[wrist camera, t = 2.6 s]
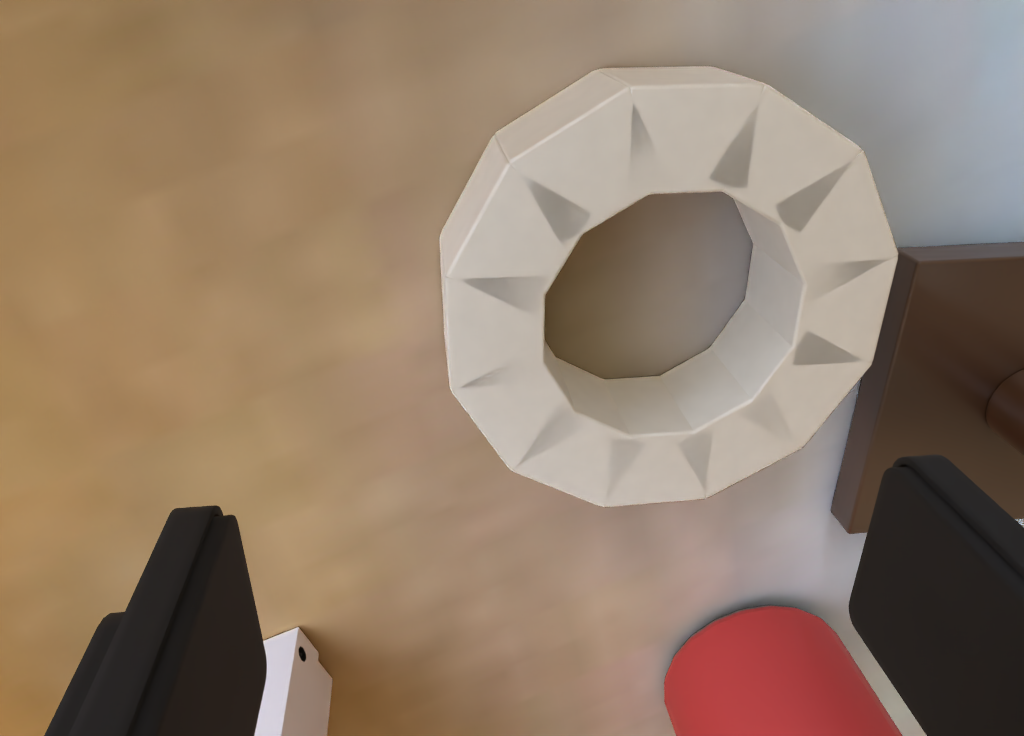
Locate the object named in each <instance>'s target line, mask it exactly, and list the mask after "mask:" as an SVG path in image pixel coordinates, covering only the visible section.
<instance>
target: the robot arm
mask: <svg viewBox="0 0 1024 736" xmlns="http://www.w3.org/2000/svg"><path fill="white" fill-rule="evenodd" d="M849 613H850V618H851V621H852V624H853V626H854V628H855V629H856V631H857V632H858V634H859V635H860V637H861V638H862V640H863V641H864V643H865V644H866V646H867V647H868V649H869V650H870V652H871V653H872V655H873V656H874V658H875V659H876V661H877V662H878V664H879V665H880V667H881V668H882V669H883V671H884V672H885V674H886V675H887V677H888V678H889V680H890V681H891V683H892V684H893V686H894V687H895V689H896V690H897V692H898V693H899V695H900V696H901V698H902V699H903V701H904V702H905V704H906V705H907V707H908V708H909V710H910V711H911V713H912V714H913V716H914V717H915V719H916V720H917V722H918V723H919V724H920V726H921V727H922V729H923V730H924V732H925V733H926V735H927V736H1024V528H1023V527H1022V526H1021V525H1020V524H1019V523H1018V522H1017V521H1016V520H1015V519H1014V518H1012V517H1011V516H1010V515H1009V514H1008V513H1007V512H1006V511H1005V510H1004V509H1003V508H1001V507H1000V506H999V505H998V504H997V503H996V502H995V501H994V500H993V499H991V498H990V497H989V496H988V495H987V494H986V493H985V492H984V491H983V490H982V489H980V488H979V487H978V486H977V485H976V484H975V483H974V482H973V481H972V480H971V479H969V478H968V477H967V476H966V475H965V474H964V473H963V472H962V471H961V470H960V469H958V468H957V467H956V466H955V465H954V464H953V463H952V462H951V461H950V460H949V459H947V458H946V457H944V456H942V455H937V454H936V455H922V456H908V457H901V458H898V459H897V460H896V461H895V462H894V464H893V466H892V467H891V468H888V469H887V470H886V471H885V472H884V474H883V476H882V480H881V484H880V487H879V491H878V495H877V499H876V503H875V506H874V510H873V514H872V518H871V521H870V525H869V529H868V533H867V537H866V540H865V544H864V548H863V552H862V555H861V559H860V563H859V567H858V571H857V574H856V578H855V582H854V586H853V590H852V593H851V597H850V601H849ZM266 674H267V660H266V653H265V648H264V643H263V639H262V634H261V629H260V625H259V620H258V615H257V611H256V606H255V601H254V597H253V592H252V587H251V583H250V578H249V573H248V569H247V564H246V559H245V555H244V550H243V545H242V541H241V536H240V531H239V527H238V523H237V519H236V517H235V516H234V515H227V516H223V513H222V510H221V509H220V507H219V506H202V507H188V508H176V509H174V510H172V512H171V513H170V515H169V517H168V519H167V521H166V524H165V526H164V528H163V530H162V532H161V535H160V537H159V539H158V541H157V543H156V545H155V548H154V550H153V552H152V554H151V556H150V559H149V561H148V563H147V565H146V567H145V569H144V572H143V574H142V576H141V578H140V580H139V583H138V585H137V587H136V589H135V591H134V593H133V596H132V598H131V600H130V602H129V604H128V607H127V609H126V611H125V612H120V613H110V614H109V615H107V616H106V617H105V618H103V620H102V621H101V623H100V624H99V626H98V627H97V629H96V631H95V633H94V635H93V637H92V639H91V641H90V644H89V646H88V648H87V650H86V652H85V654H84V656H83V658H82V660H81V662H80V664H79V666H78V668H77V670H76V672H75V674H74V676H73V678H72V680H71V682H70V684H69V686H68V688H67V690H66V692H65V695H64V697H63V699H62V701H61V703H60V705H59V707H58V709H57V711H56V713H55V715H54V717H53V719H52V721H51V723H50V725H49V727H48V729H47V731H46V733H45V735H44V736H254V734H255V730H256V725H257V720H258V716H259V711H260V706H261V702H262V697H263V692H264V687H265V682H266Z"/></svg>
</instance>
